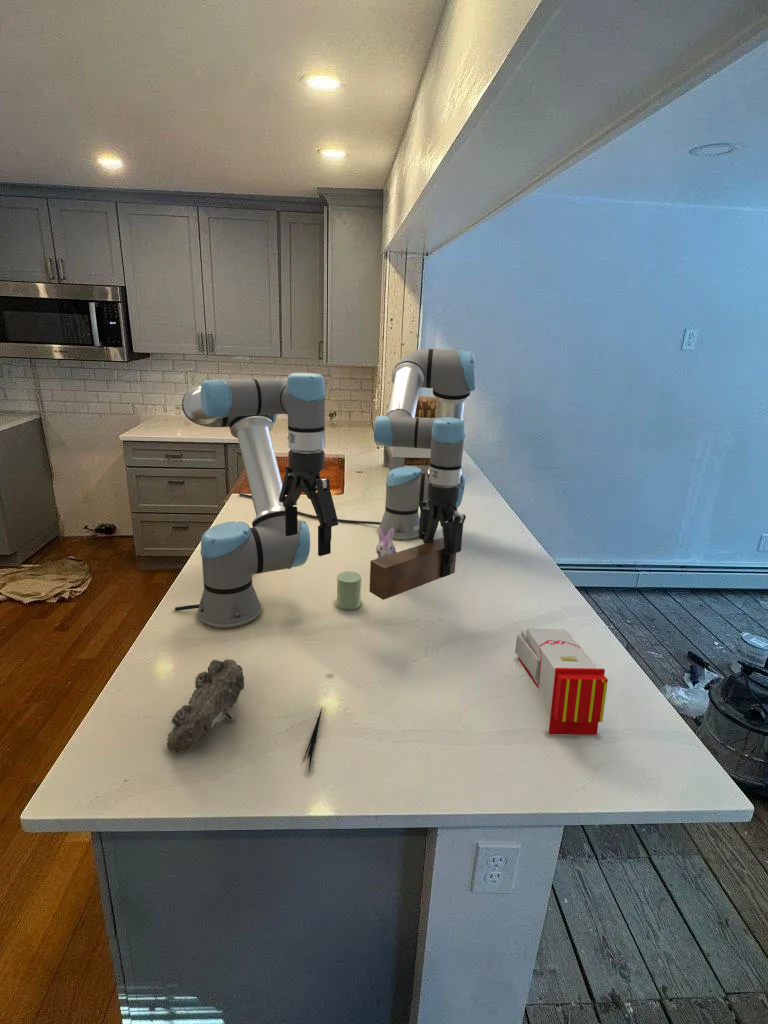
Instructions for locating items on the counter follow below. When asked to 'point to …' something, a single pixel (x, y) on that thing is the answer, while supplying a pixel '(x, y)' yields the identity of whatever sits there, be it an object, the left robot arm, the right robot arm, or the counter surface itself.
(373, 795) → the counter surface
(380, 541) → the figurine
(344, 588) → the pale green cylinder
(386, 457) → the transformer
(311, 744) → the feather
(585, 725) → the toy
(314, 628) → the counter surface
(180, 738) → the fossil
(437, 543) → the walnut box
